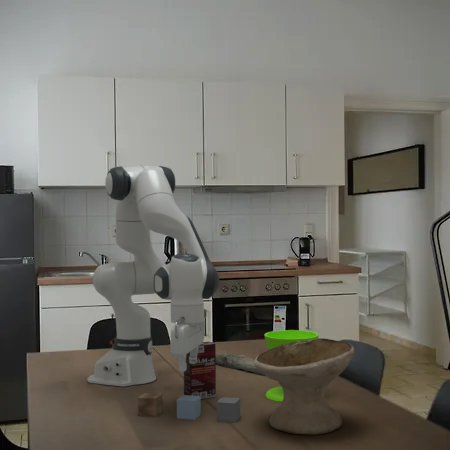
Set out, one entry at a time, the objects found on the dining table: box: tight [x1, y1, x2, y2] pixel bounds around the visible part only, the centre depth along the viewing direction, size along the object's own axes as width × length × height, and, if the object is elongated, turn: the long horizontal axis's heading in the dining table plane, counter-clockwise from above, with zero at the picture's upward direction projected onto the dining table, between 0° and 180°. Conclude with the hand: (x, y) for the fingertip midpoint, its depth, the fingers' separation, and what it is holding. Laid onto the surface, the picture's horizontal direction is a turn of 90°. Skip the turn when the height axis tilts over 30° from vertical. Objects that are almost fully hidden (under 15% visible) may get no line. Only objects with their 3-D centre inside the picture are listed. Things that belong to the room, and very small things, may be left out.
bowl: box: [254, 337, 355, 436], centre depth 169 cm, size 26×25×20 cm
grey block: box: [216, 396, 241, 423], centre depth 175 cm, size 5×5×5 cm
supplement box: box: [183, 341, 217, 400], centre depth 197 cm, size 9×5×16 cm, turn 120°
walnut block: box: [137, 392, 164, 418], centre depth 181 cm, size 5×5×5 cm
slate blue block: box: [176, 394, 202, 421], centre depth 178 cm, size 5×5×5 cm
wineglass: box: [263, 329, 320, 403], centre depth 197 cm, size 16×16×18 cm
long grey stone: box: [216, 351, 265, 376], centre depth 235 cm, size 35×5×10 cm
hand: (188, 366), depth 178 cm, fingers open, 8 cm apart
